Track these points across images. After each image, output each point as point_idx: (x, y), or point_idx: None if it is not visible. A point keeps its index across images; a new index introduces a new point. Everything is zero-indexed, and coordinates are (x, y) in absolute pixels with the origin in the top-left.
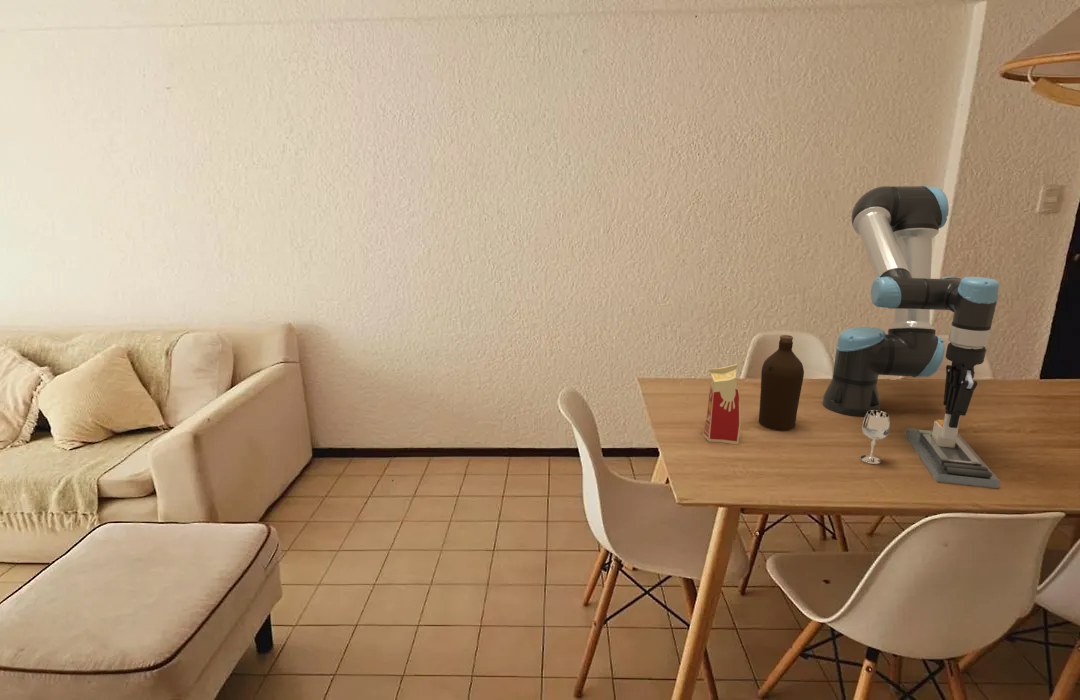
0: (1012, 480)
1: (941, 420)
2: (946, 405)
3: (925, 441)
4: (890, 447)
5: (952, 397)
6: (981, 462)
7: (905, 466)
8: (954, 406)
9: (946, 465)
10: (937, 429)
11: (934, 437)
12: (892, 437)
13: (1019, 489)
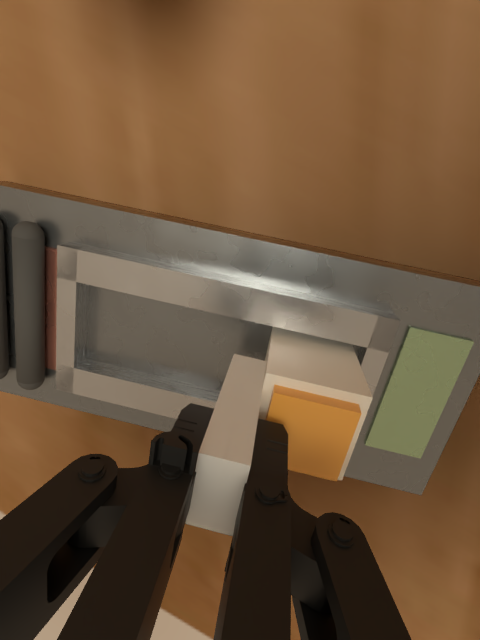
0: (86, 448)
1: (344, 428)
2: (277, 514)
3: (311, 296)
4: (345, 127)
5: (118, 624)
6: (129, 415)
7: (128, 105)
8: (54, 520)
9: (12, 238)
10: (296, 366)
11: (313, 346)
12: (475, 201)
13: (28, 430)
